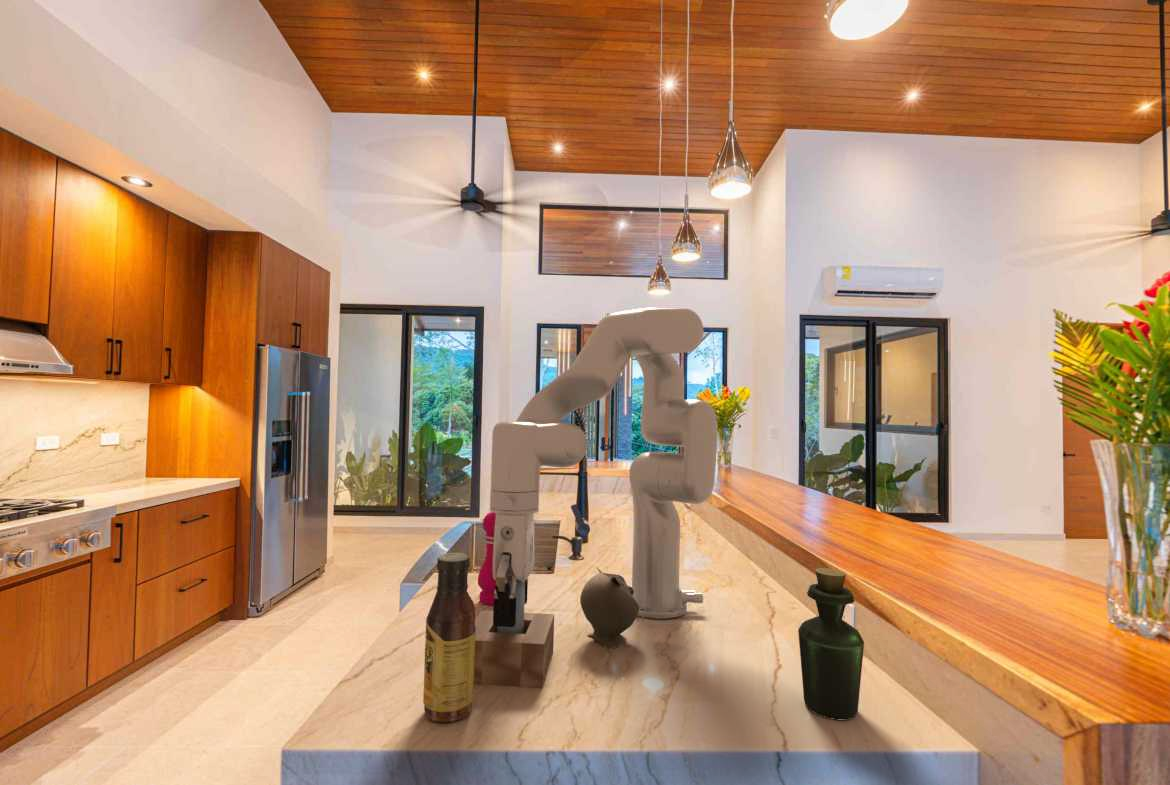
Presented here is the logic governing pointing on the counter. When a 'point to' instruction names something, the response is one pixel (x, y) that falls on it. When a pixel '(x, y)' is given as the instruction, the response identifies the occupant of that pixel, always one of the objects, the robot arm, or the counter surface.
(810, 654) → the potion bottle
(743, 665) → the counter surface
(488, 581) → the pepper mill
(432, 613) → the sauce bottle
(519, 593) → the peg
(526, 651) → the socket block
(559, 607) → the counter surface
